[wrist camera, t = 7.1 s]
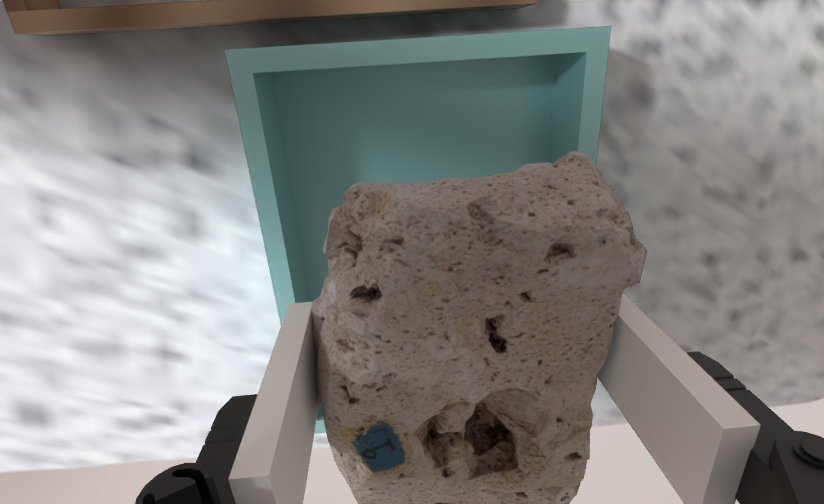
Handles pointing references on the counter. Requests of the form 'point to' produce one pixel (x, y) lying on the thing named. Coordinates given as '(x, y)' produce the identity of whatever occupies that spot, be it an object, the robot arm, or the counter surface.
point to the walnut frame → (219, 13)
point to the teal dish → (402, 124)
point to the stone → (470, 332)
